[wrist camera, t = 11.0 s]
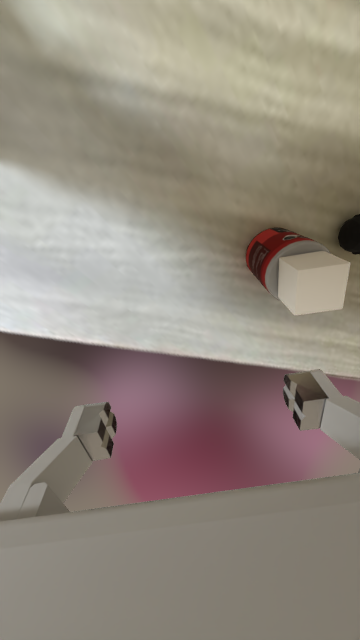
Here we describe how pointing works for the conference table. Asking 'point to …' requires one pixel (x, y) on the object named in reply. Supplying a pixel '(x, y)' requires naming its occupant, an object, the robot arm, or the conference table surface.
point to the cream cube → (312, 282)
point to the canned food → (276, 254)
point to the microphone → (350, 235)
